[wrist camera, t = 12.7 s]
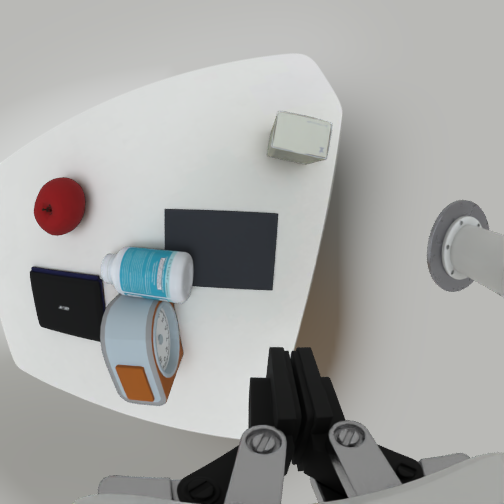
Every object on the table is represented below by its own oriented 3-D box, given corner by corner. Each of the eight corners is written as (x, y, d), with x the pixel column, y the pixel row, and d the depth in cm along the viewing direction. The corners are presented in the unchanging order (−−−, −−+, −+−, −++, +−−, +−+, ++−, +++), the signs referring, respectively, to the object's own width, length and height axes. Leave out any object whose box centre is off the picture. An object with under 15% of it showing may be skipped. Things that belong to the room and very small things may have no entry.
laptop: (32, 252, 42) (26, 255, 40) (111, 278, 44) (106, 282, 42) (37, 320, 46) (33, 324, 44) (111, 351, 47) (107, 356, 45)
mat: (277, 213, 41) (278, 213, 41) (272, 289, 44) (272, 290, 44) (165, 209, 41) (164, 209, 41) (166, 283, 44) (166, 284, 44)
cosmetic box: (311, 137, 38) (335, 122, 27) (306, 166, 39) (329, 160, 28) (270, 128, 38) (278, 108, 26) (264, 157, 39) (270, 147, 27)
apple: (64, 169, 39) (27, 170, 29) (101, 187, 40) (66, 191, 30) (51, 217, 41) (15, 227, 31) (85, 237, 42) (51, 252, 32)
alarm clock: (186, 359, 48) (170, 410, 34) (144, 358, 48) (120, 405, 34) (171, 284, 44) (144, 325, 31) (125, 286, 44) (87, 323, 31)
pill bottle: (191, 241, 39) (110, 234, 39) (178, 283, 34) (90, 270, 34) (196, 274, 44) (122, 265, 45) (186, 314, 39) (107, 300, 40)
